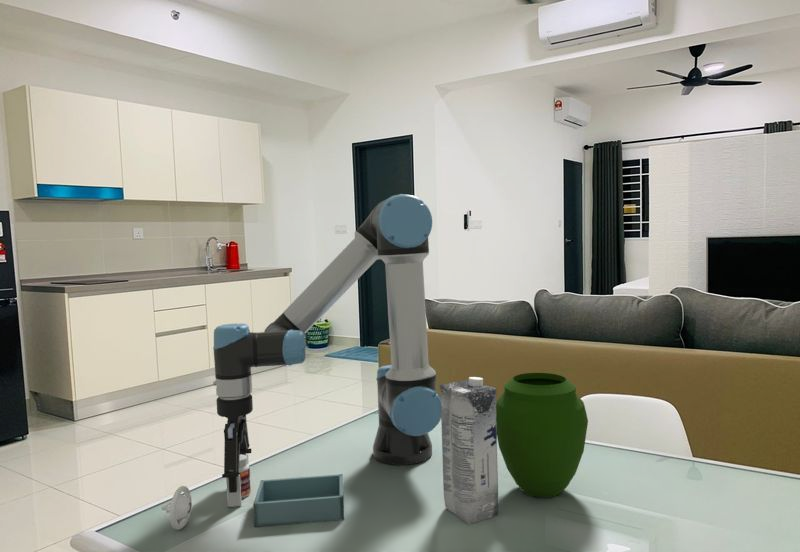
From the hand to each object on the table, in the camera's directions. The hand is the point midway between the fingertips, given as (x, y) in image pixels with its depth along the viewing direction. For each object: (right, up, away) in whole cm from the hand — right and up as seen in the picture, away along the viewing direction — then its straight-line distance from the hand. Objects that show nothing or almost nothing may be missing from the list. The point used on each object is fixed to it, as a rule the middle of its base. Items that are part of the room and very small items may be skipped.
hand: (239, 493), depth 129 cm
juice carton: (+50, +1, -12) cm, 51 cm away
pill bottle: (0, 0, 0) cm, 0 cm away
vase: (+66, +2, -3) cm, 66 cm away
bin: (+15, 0, -8) cm, 17 cm away
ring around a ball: (-8, -2, -14) cm, 16 cm away
